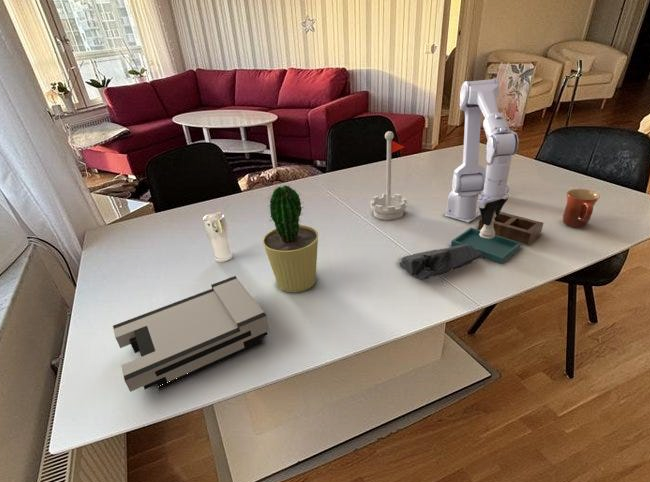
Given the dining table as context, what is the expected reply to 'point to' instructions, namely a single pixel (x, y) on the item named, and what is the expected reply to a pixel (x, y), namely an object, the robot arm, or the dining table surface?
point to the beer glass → (218, 235)
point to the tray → (488, 245)
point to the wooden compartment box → (515, 228)
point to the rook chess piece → (488, 230)
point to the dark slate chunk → (439, 260)
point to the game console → (191, 335)
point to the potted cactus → (290, 243)
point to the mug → (579, 207)
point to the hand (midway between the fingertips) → (489, 222)
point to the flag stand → (389, 189)
